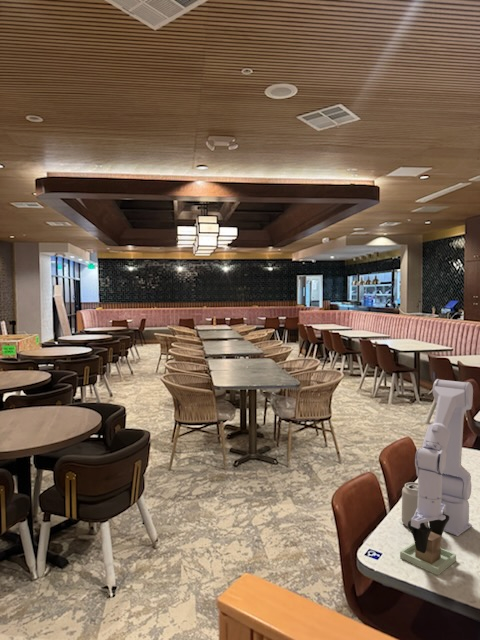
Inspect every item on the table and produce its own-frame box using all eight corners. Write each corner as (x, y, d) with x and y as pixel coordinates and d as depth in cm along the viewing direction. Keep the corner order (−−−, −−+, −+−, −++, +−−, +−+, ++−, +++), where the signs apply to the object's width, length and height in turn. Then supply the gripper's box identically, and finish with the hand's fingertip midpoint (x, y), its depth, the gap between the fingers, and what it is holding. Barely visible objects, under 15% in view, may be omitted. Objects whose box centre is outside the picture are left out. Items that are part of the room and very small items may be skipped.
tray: (419, 544, 125) (419, 539, 125) (456, 560, 118) (456, 554, 118) (400, 557, 119) (400, 551, 119) (437, 575, 111) (437, 568, 111)
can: (406, 516, 142) (407, 478, 141) (431, 524, 137) (432, 485, 137) (397, 525, 136) (398, 486, 136) (423, 533, 131) (424, 493, 131)
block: (424, 550, 122) (424, 528, 121) (440, 558, 118) (441, 535, 118) (415, 556, 119) (415, 534, 118) (431, 564, 115) (432, 541, 115)
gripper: (430, 508, 110) (429, 563, 110) (457, 492, 119) (456, 543, 120) (403, 498, 115) (402, 550, 116) (431, 484, 125) (430, 532, 125)
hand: (428, 546), depth 118 cm, fingers open, 7 cm apart
